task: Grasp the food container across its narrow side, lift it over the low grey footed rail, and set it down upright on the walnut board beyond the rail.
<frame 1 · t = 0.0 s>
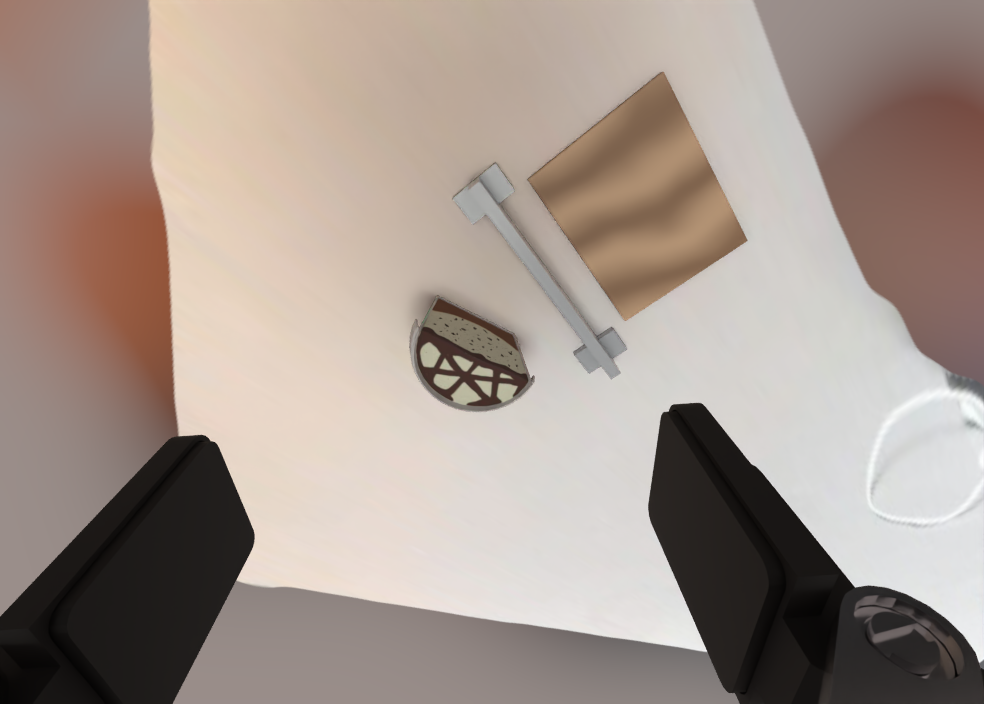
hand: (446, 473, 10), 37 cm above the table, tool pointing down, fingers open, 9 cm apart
grey footed rail: (546, 278, 47), on the table
walnut board: (640, 210, 44), on the table
food container: (463, 337, 50), on the table
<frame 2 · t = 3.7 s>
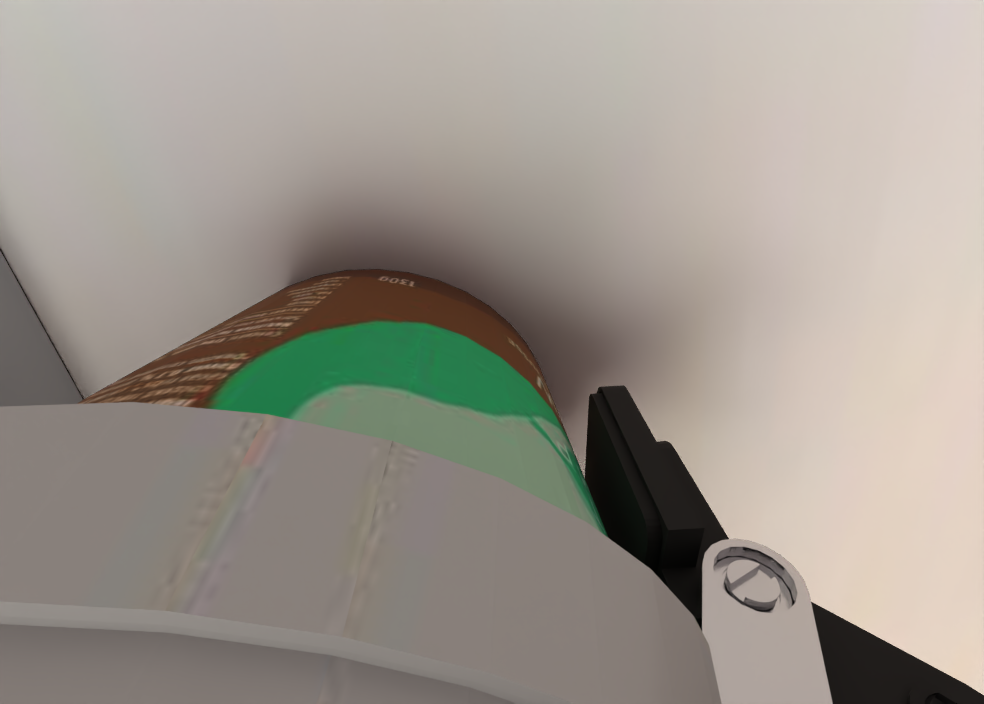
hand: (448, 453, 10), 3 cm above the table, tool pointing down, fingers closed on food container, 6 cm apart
grey footed rail: (68, 414, 13), on the table
food container: (476, 385, 13), on the table, touching gripper
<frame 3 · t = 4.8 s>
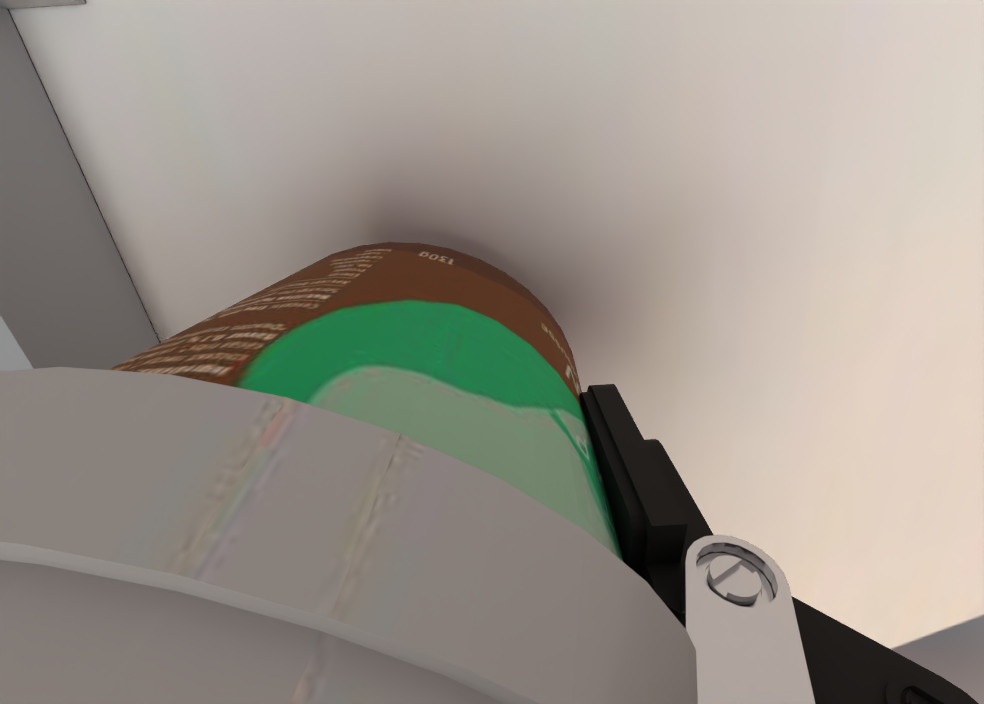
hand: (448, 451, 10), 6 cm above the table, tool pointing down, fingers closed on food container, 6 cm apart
grey footed rail: (141, 343, 15), on the table
food container: (507, 365, 13), point 2 cm above the table, touching gripper
when the fingers open (5 cm above the table, at t = 11.2 s): food container stays where it is, resting on walnut board.
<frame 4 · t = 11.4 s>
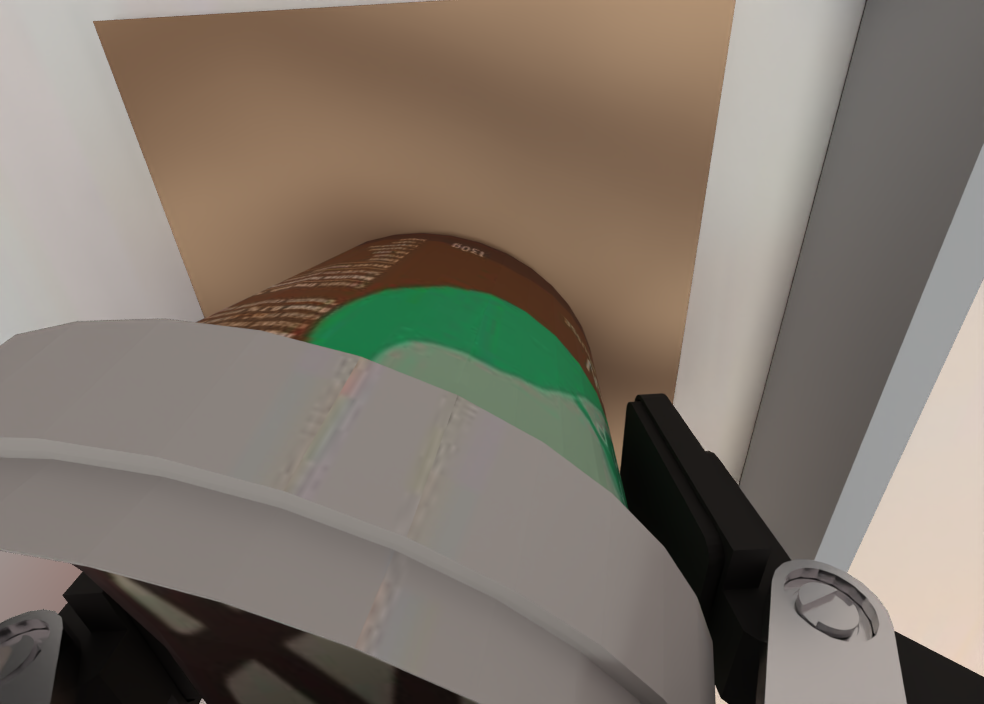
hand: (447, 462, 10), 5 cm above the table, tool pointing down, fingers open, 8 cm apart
grey footed rail: (797, 333, 15), on the table
walnut board: (455, 355, 14), on the table
food container: (526, 358, 14), point 1 cm above the table, touching gripper, walnut board
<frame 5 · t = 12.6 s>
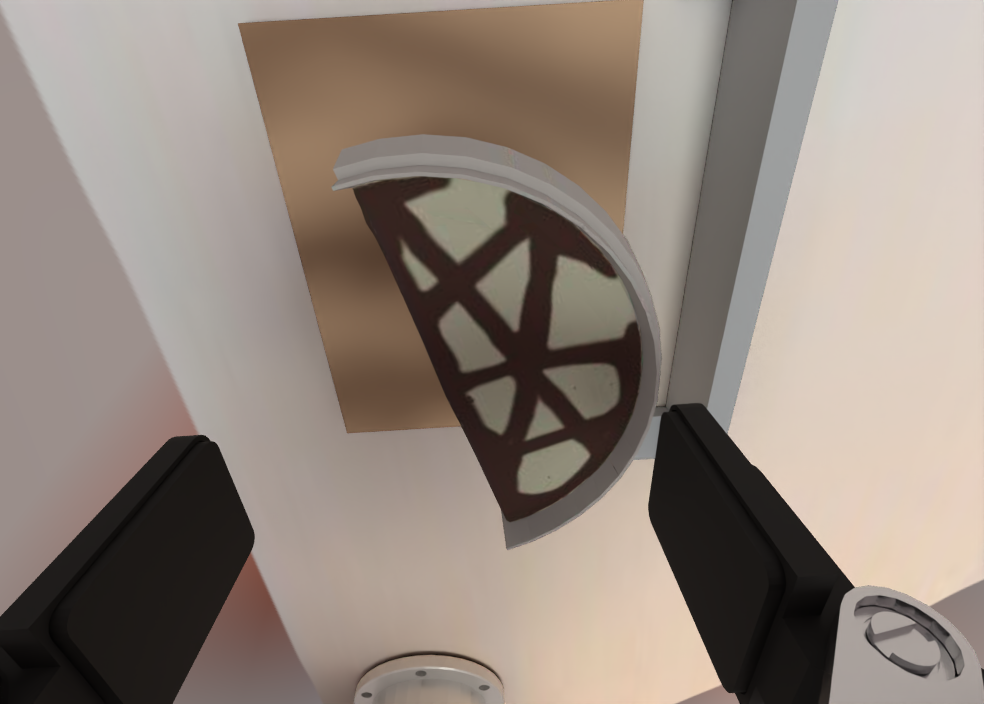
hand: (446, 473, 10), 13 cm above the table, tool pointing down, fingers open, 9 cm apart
grey footed rail: (705, 244, 21), on the table
walnut board: (463, 259, 21), on the table
food container: (512, 254, 20), resting on walnut board
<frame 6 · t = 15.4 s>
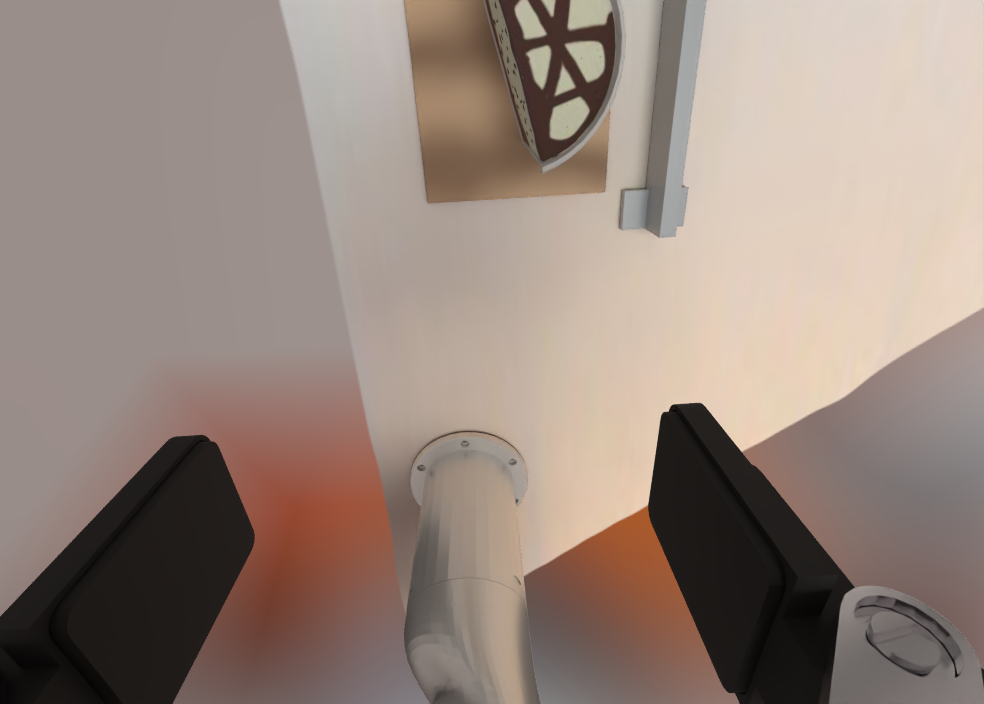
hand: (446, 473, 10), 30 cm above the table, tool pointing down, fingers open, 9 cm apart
grey footed rail: (667, 54, 32), on the table
walnut board: (512, 63, 32), on the table
food container: (544, 57, 32), resting on walnut board
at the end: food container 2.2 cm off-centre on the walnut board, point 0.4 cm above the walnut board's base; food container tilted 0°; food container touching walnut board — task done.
